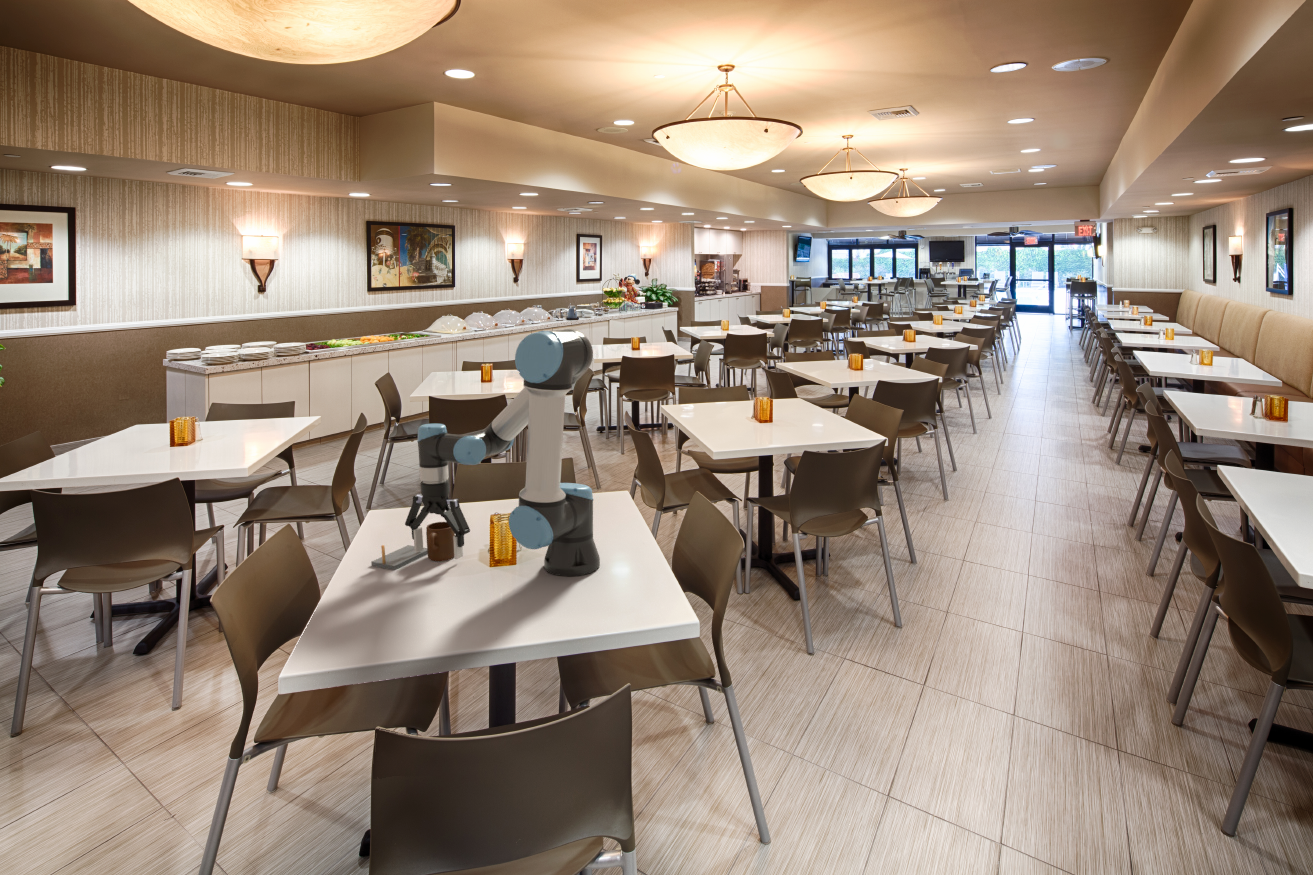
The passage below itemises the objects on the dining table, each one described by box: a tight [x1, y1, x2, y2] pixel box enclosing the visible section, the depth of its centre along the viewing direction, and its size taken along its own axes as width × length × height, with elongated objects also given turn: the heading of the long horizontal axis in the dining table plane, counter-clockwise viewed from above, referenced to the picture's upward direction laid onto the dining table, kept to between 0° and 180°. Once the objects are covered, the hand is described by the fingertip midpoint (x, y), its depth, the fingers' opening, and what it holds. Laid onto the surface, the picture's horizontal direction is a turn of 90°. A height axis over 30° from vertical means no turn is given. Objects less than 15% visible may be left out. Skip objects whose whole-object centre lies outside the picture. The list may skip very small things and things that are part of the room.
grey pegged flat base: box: [371, 544, 428, 571], centre depth 204 cm, size 8×15×6 cm, turn 158°
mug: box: [425, 521, 456, 563], centre depth 203 cm, size 12×8×9 cm, turn 176°
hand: (438, 554), depth 204 cm, fingers open, 13 cm apart
